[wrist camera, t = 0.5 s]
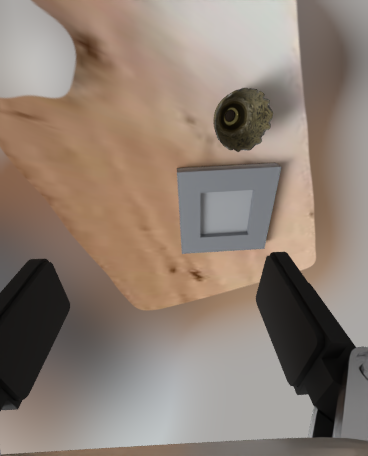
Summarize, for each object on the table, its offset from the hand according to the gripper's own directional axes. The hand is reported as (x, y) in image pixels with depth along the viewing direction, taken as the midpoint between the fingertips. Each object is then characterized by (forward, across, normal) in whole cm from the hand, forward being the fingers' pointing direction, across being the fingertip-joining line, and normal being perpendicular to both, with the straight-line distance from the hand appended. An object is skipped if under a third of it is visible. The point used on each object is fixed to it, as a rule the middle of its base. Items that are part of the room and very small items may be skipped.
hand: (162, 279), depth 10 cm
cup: (+31, -10, -4) cm, 33 cm away
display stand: (+31, -10, +13) cm, 35 cm away
